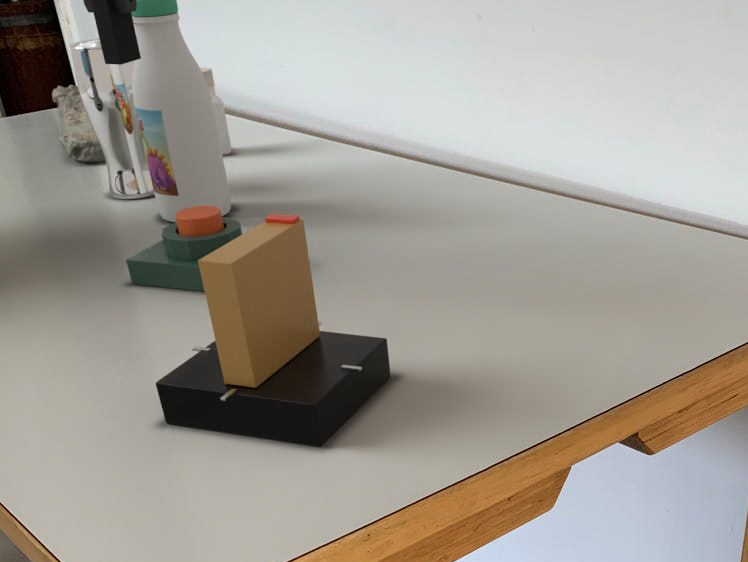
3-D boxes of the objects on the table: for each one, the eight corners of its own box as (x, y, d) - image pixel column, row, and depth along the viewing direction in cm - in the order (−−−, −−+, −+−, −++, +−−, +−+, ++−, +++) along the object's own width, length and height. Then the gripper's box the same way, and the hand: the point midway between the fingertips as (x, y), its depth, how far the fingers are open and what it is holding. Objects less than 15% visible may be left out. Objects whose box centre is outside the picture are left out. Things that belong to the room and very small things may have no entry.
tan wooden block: (256, 388, 64) (230, 259, 58) (224, 384, 64) (196, 256, 59) (320, 335, 70) (302, 215, 65) (291, 332, 71) (271, 212, 66)
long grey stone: (56, 180, 124) (138, 175, 127) (45, 134, 121) (129, 130, 123) (60, 110, 149) (128, 107, 152) (51, 71, 146) (120, 69, 148)
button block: (132, 284, 89) (120, 238, 87) (187, 252, 96) (178, 209, 93) (236, 294, 86) (226, 248, 83) (286, 261, 92) (279, 217, 90)
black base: (148, 429, 66) (136, 386, 64) (249, 353, 76) (241, 313, 74) (321, 456, 62) (314, 411, 60) (404, 372, 72) (401, 330, 70)
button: (170, 237, 88) (166, 217, 87) (195, 224, 90) (191, 204, 89) (208, 240, 86) (204, 220, 85) (232, 227, 89) (228, 207, 88)
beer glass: (136, 203, 110) (98, 49, 100) (93, 196, 113) (53, 46, 103) (180, 187, 114) (148, 38, 105) (139, 181, 117) (104, 35, 108)
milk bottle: (232, 200, 109) (191, -14, 97) (233, 220, 103) (190, -5, 91) (161, 207, 108) (111, -8, 95) (158, 227, 102) (105, 1, 90)
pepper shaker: (196, 152, 128) (179, 69, 122) (226, 148, 129) (210, 65, 123) (202, 159, 125) (185, 74, 119) (233, 154, 126) (218, 70, 120)
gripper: (149, -358, 64) (218, 55, 79) (-11, -343, 68) (85, 50, 83) (77, -374, 59) (166, 73, 74) (-93, -357, 62) (25, 66, 77)
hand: (123, 60), depth 78 cm, fingers closed
